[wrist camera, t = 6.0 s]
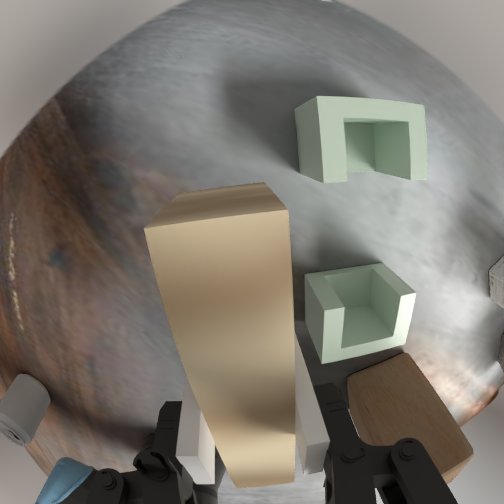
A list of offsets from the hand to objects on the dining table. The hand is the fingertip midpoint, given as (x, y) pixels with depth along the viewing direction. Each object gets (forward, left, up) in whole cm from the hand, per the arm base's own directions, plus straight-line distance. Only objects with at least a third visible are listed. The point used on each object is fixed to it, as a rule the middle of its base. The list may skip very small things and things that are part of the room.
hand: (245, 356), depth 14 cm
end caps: (+11, +2, -14) cm, 18 cm away
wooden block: (+18, -23, -15) cm, 33 cm away
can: (-38, -20, -15) cm, 46 cm away
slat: (0, 0, -1) cm, 1 cm away
